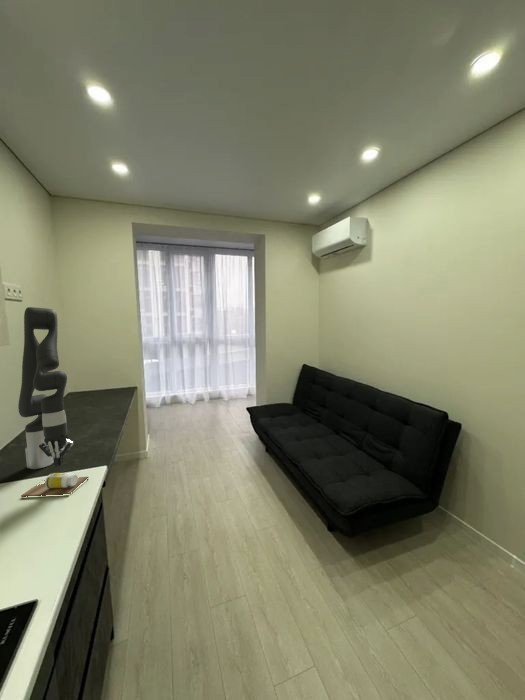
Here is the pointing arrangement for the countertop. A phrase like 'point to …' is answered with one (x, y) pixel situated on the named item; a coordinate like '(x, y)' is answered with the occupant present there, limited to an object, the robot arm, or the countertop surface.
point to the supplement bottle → (61, 480)
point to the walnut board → (52, 489)
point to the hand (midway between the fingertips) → (58, 466)
